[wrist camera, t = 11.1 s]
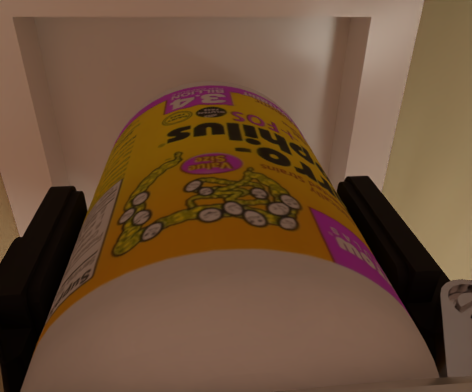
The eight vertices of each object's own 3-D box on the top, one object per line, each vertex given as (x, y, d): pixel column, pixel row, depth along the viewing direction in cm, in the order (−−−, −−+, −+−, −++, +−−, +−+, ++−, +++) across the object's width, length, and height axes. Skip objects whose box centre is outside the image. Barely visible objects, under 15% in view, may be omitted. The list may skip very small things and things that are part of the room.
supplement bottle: (341, 133, 14) (833, 731, 3) (243, 267, 17) (345, 847, 6) (162, 31, 12) (-52, 814, 1) (81, 204, 15) (-215, 942, 4)
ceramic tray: (394, -44, 14) (433, -42, 12) (339, 264, 20) (357, 302, 18) (-25, -50, 12) (-68, -50, 10) (61, 281, 19) (46, 322, 17)
